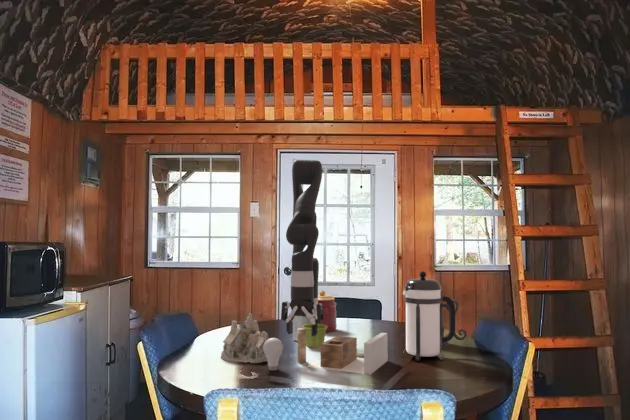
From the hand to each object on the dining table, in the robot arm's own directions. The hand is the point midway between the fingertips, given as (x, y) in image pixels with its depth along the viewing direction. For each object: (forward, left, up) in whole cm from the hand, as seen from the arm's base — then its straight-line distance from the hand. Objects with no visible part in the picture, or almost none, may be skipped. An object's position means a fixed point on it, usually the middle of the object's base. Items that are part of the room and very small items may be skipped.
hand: (302, 334), depth 168 cm
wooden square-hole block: (+11, +4, -9) cm, 15 cm away
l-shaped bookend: (+14, +4, -10) cm, 18 cm away
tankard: (+33, +53, -10) cm, 63 cm away
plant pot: (-6, +24, -10) cm, 27 cm away
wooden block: (+19, +16, -10) cm, 27 cm away
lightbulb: (-4, -12, -10) cm, 16 cm away
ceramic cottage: (-22, +2, -11) cm, 25 cm away
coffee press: (+34, +30, -10) cm, 46 cm away
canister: (-19, +61, -10) cm, 65 cm away
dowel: (0, 0, -10) cm, 10 cm away
